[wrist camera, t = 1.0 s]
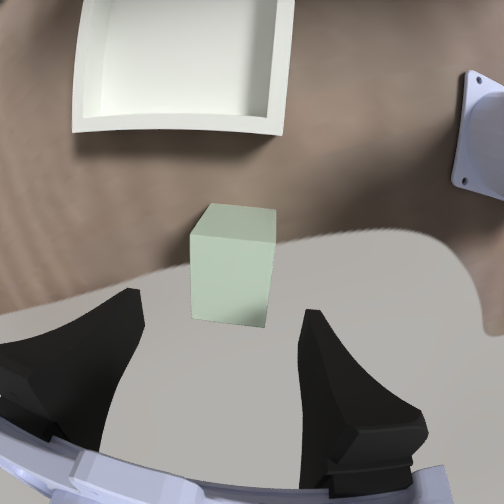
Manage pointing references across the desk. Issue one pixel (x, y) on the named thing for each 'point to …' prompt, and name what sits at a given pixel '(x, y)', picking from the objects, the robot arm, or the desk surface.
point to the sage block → (232, 264)
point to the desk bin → (182, 65)
